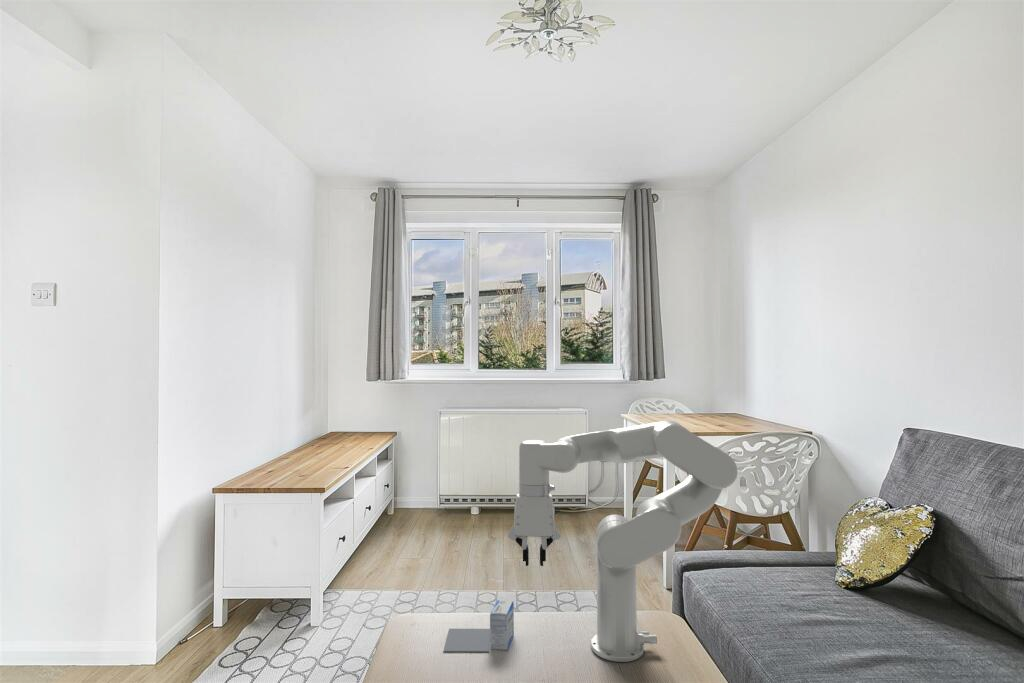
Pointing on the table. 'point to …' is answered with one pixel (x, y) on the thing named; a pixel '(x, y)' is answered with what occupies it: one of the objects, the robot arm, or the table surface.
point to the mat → (467, 640)
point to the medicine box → (502, 625)
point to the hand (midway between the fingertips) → (534, 563)
